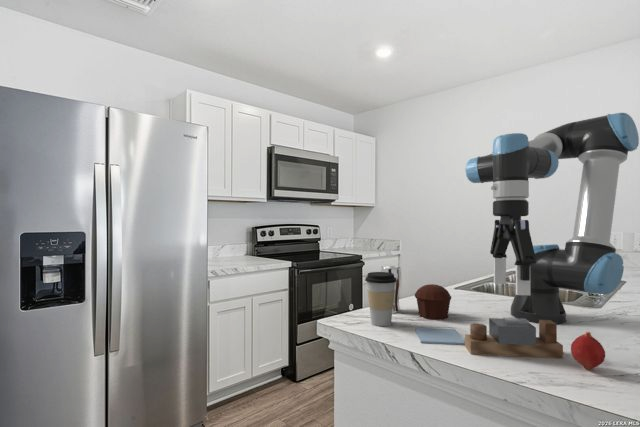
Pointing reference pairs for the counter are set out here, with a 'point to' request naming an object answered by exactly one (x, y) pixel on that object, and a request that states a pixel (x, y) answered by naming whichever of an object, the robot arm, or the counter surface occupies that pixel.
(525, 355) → the wooden block with pegs
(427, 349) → the counter surface
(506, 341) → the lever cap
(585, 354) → the onion
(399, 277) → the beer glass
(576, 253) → the robot arm
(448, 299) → the muffin
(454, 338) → the mat
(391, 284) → the coffee cup
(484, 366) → the counter surface
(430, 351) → the counter surface
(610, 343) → the counter surface
